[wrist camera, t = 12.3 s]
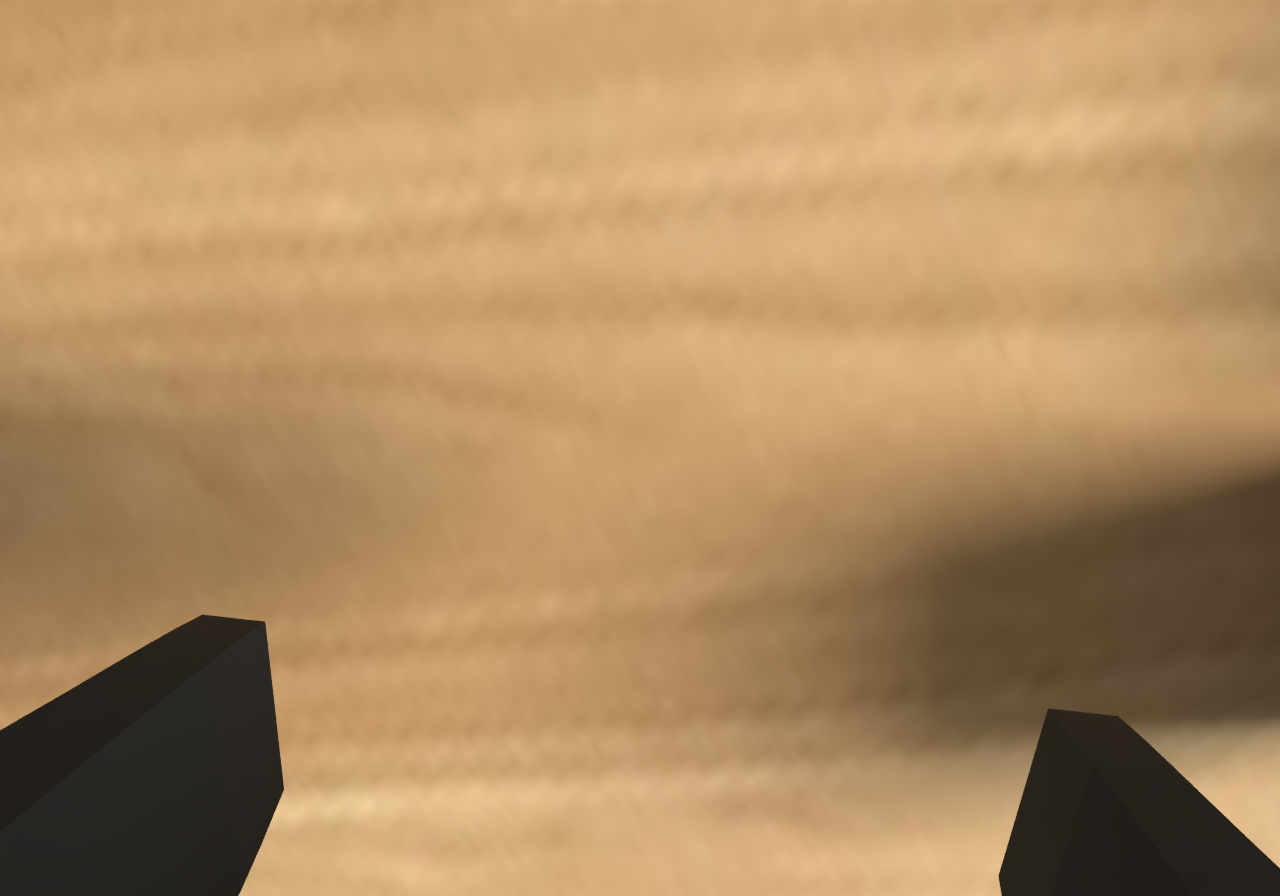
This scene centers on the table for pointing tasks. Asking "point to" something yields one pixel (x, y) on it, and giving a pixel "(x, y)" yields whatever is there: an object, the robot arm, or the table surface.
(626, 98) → the table surface
